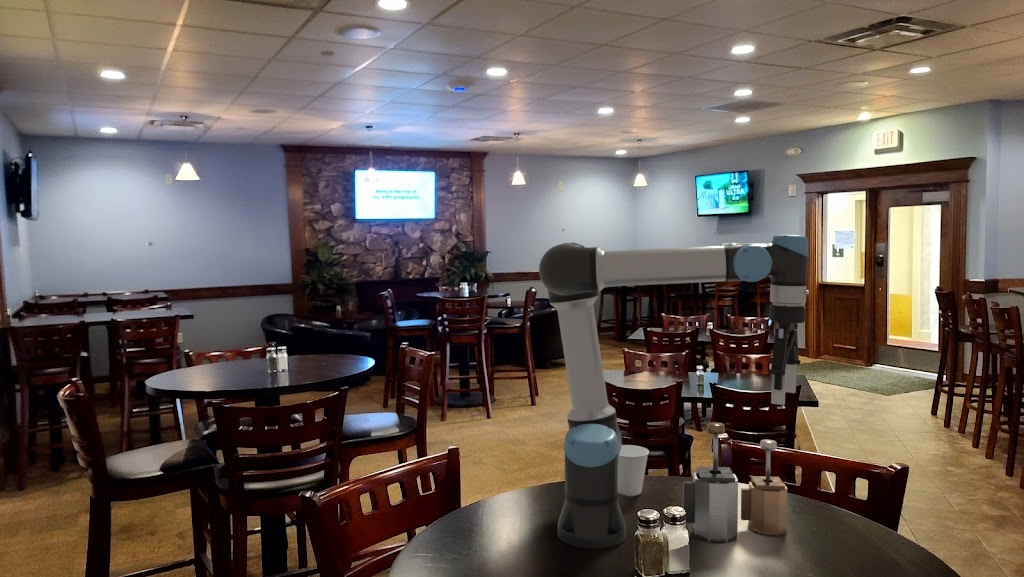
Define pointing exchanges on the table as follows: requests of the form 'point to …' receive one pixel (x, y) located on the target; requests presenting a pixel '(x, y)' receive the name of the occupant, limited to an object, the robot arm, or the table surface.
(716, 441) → the steel plunger
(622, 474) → the cup
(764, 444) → the grey press handle
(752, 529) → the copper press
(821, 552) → the table surface
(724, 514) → the steel press
